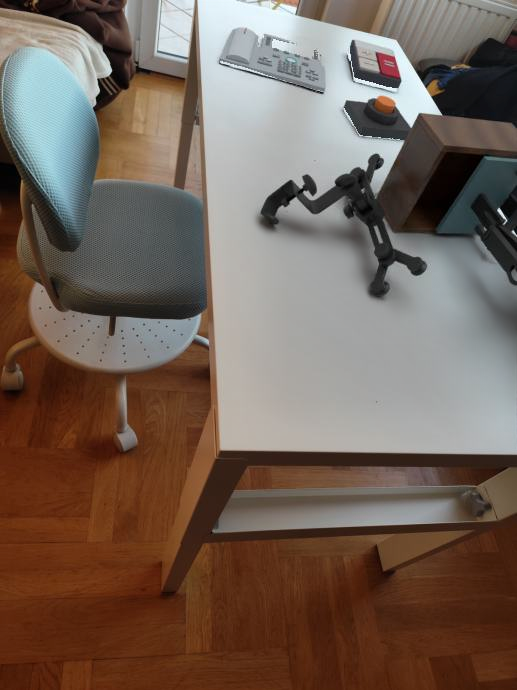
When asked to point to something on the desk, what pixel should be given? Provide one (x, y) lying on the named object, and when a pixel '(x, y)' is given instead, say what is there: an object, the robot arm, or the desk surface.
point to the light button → (384, 104)
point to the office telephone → (273, 59)
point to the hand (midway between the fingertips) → (492, 201)
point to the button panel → (374, 64)
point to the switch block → (377, 120)
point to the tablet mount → (350, 214)
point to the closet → (439, 167)
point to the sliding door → (487, 179)
